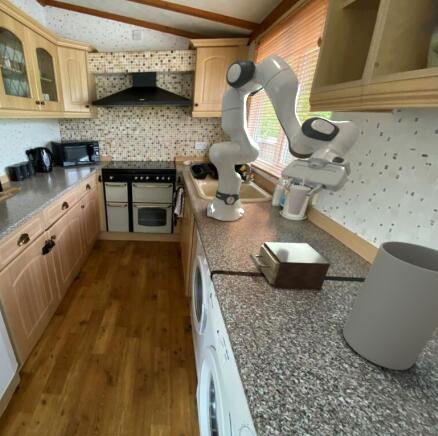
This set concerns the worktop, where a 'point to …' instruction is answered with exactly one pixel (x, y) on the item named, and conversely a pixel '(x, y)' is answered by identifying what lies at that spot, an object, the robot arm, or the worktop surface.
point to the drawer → (266, 263)
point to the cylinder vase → (395, 306)
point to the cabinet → (298, 265)
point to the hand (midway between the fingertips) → (298, 192)
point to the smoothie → (297, 197)
